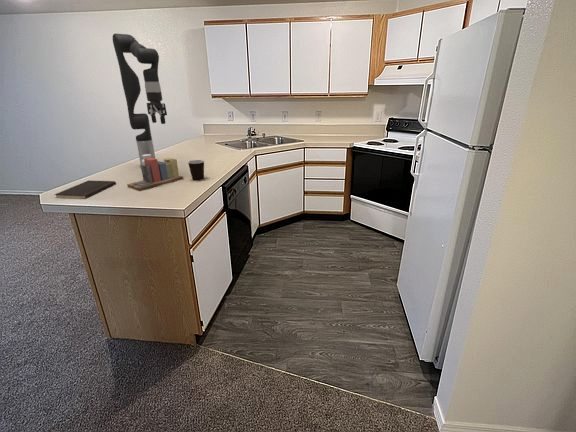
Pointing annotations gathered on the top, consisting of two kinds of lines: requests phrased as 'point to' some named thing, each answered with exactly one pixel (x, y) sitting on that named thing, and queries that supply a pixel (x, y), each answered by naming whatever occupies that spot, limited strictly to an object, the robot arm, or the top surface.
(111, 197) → the top surface
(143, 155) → the supplement bottle
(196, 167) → the coffee mug
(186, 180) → the top surface
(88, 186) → the hardcover book
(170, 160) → the shelf
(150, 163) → the book
